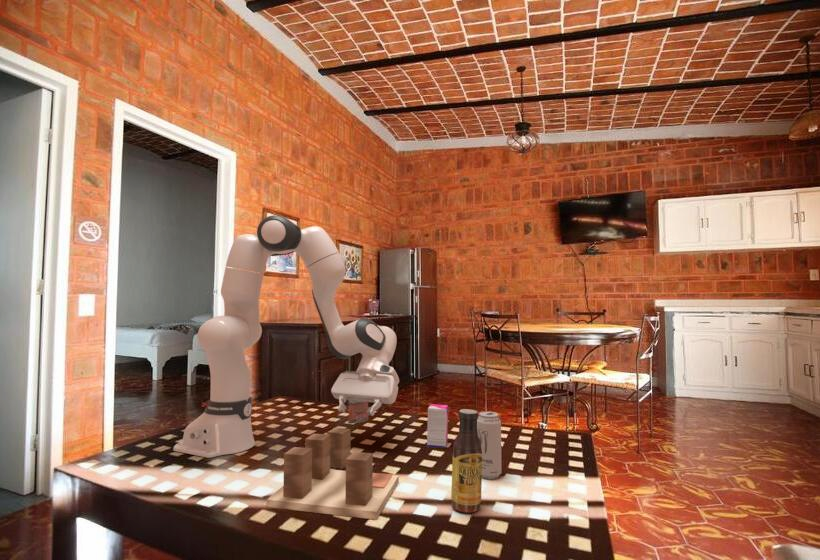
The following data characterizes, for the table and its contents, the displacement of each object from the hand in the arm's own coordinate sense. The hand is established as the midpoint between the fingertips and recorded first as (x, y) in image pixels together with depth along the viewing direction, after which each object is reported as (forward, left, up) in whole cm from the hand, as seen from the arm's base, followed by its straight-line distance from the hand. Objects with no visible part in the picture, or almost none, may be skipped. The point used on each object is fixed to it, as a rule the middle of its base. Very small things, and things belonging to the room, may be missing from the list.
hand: (355, 412), depth 120 cm
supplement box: (+22, +14, -12) cm, 28 cm away
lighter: (-10, +33, -12) cm, 36 cm away
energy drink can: (+38, -6, -12) cm, 40 cm away
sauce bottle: (+34, -24, -12) cm, 43 cm away
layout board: (+5, -24, -12) cm, 27 cm away
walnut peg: (-1, -8, -12) cm, 14 cm away
